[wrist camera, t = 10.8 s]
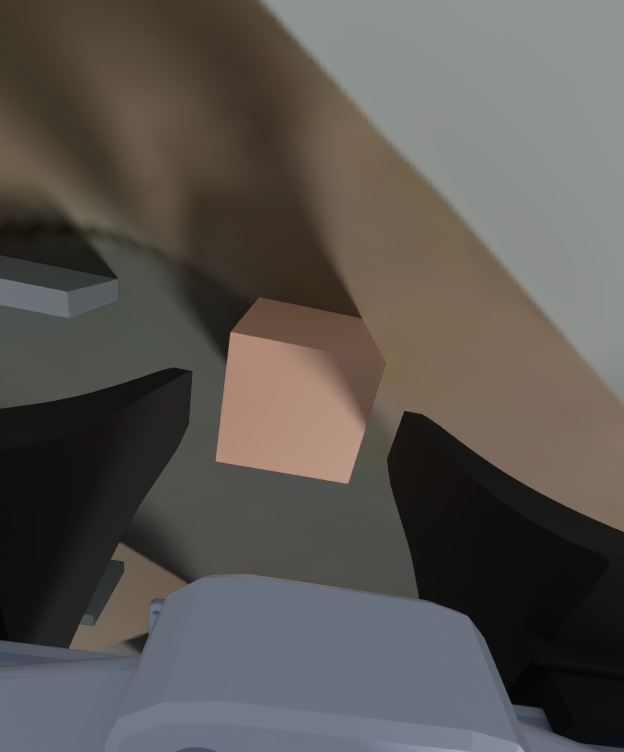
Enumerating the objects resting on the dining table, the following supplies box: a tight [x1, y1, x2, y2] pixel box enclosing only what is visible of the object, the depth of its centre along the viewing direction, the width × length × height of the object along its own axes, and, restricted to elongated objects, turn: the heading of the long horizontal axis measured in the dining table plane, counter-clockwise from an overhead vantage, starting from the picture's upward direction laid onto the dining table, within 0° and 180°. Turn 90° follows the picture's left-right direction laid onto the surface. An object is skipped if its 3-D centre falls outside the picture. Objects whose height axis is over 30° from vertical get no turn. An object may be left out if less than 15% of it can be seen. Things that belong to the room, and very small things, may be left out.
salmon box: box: [216, 297, 386, 484], centre depth 14 cm, size 5×5×6 cm
